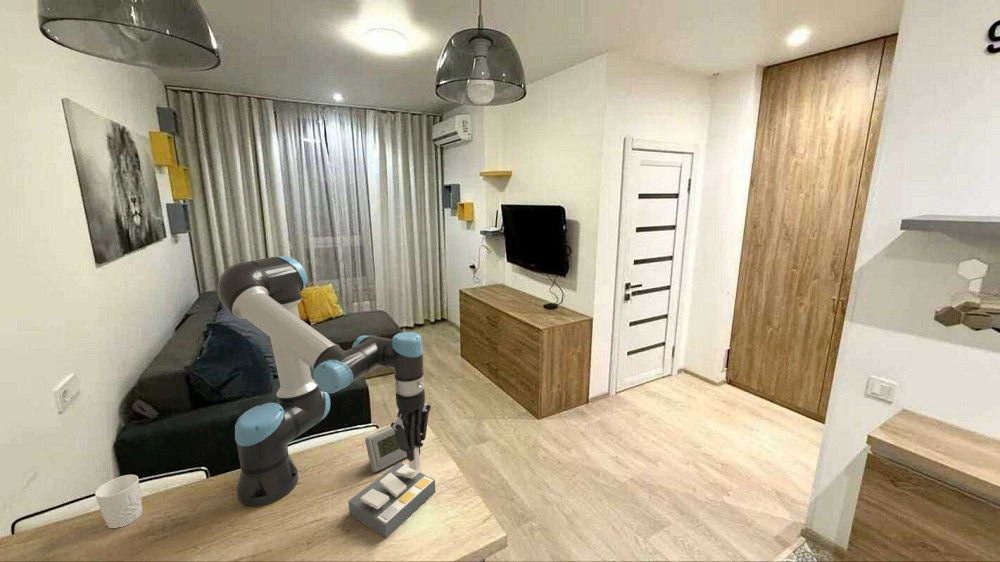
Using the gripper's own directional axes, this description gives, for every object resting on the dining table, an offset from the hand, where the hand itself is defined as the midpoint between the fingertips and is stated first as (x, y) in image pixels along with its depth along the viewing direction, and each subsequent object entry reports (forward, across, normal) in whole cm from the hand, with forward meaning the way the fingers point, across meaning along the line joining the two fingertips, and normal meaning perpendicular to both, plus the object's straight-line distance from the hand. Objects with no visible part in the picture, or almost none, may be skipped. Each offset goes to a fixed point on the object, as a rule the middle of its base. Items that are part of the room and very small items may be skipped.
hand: (414, 467), depth 108 cm
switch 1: (+3, -12, +2) cm, 13 cm away
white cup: (+8, -47, +57) cm, 75 cm away
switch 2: (+3, -6, +2) cm, 7 cm away
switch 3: (+3, 0, +2) cm, 4 cm away
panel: (+8, -6, +2) cm, 10 cm away
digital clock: (+8, +7, +16) cm, 19 cm away
